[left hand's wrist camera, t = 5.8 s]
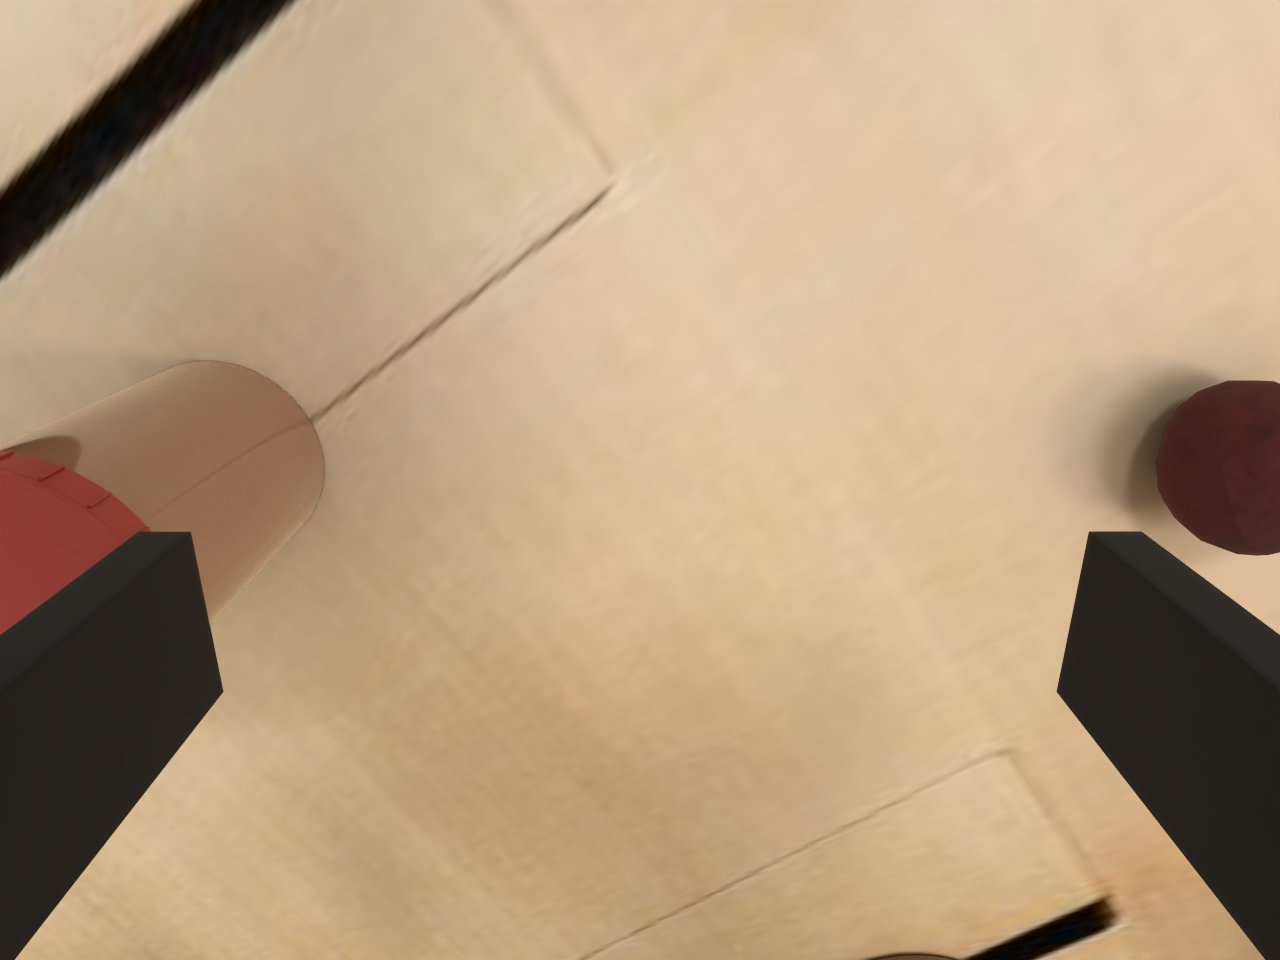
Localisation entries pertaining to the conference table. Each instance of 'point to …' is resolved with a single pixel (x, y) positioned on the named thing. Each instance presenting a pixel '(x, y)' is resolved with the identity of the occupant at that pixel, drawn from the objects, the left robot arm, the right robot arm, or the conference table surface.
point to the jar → (198, 464)
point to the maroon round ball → (1226, 466)
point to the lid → (52, 531)
